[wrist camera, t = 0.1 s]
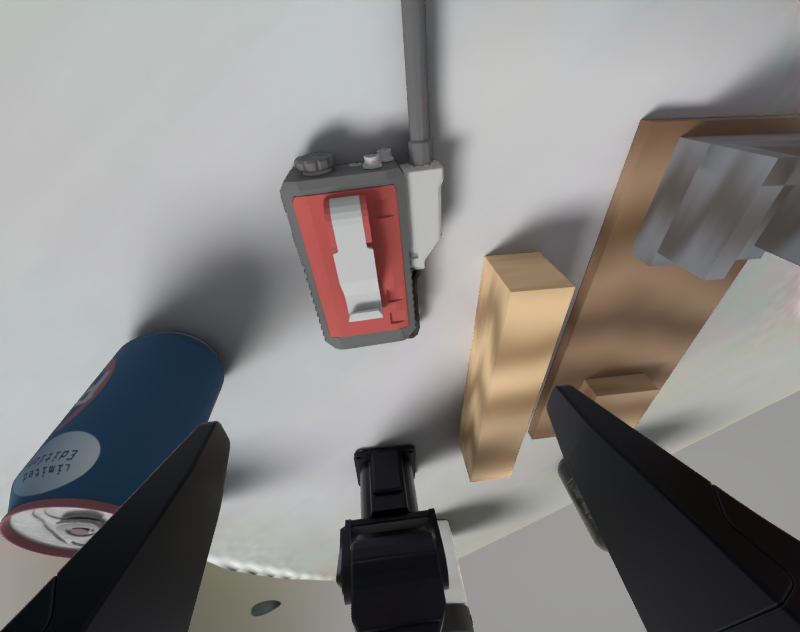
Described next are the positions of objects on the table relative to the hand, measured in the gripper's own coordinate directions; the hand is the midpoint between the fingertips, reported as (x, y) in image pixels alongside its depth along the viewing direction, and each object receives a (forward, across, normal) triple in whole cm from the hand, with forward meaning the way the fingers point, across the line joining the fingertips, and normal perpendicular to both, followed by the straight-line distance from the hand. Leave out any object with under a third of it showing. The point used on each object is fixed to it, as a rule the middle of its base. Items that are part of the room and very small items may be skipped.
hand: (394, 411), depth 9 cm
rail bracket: (+15, -22, +10) cm, 28 cm away
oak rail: (+15, -10, +14) cm, 23 cm away
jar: (+15, -5, +48) cm, 51 cm away
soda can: (+15, +15, +10) cm, 23 cm away
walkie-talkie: (+15, 0, -1) cm, 15 cm away
